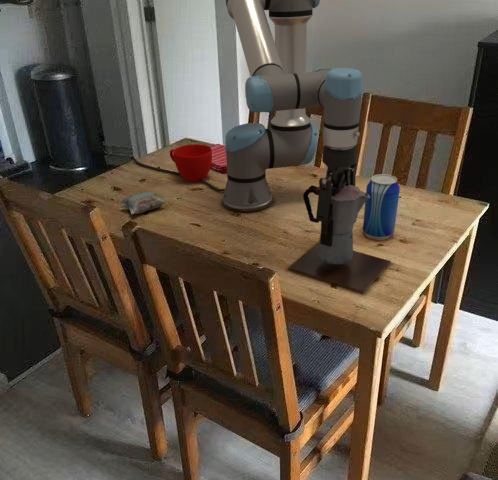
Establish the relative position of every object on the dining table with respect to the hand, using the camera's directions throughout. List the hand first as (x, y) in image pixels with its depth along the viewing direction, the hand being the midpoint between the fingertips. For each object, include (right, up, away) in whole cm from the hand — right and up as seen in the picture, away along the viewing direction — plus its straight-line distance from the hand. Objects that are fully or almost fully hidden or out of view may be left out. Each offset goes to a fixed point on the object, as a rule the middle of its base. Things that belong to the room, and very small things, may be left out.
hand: (334, 237), depth 131 cm
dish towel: (-31, +35, +70) cm, 84 cm away
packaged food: (-53, +12, +36) cm, 65 cm away
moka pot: (0, -4, +3) cm, 5 cm away
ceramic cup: (-41, +26, +57) cm, 75 cm away
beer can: (+15, +2, +17) cm, 23 cm away
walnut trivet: (+2, -7, +3) cm, 8 cm away
